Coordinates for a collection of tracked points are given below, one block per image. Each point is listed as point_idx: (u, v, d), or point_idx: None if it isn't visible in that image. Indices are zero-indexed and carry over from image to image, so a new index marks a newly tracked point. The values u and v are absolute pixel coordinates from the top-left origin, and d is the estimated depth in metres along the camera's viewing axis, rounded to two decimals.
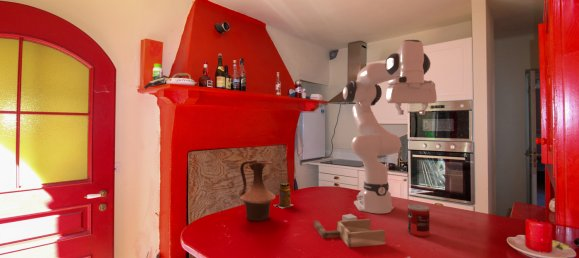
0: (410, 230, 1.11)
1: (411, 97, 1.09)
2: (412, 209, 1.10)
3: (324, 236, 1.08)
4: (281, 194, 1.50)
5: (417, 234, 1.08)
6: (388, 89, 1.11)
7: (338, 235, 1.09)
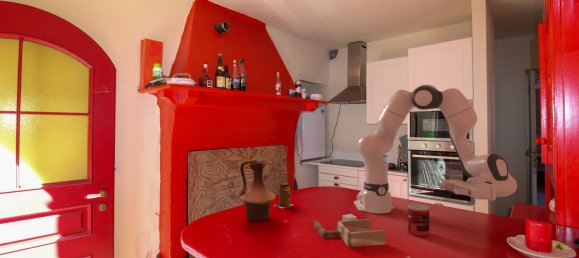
0: (410, 230, 1.11)
1: None
2: (412, 209, 1.10)
3: (324, 236, 1.09)
4: (281, 194, 1.50)
5: (417, 234, 1.08)
6: (489, 191, 1.05)
7: (338, 235, 1.10)
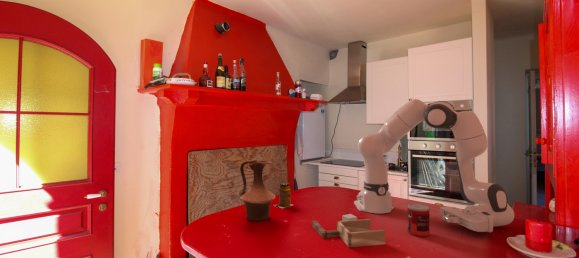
0: (410, 230, 1.11)
1: None
2: (412, 209, 1.10)
3: (324, 236, 1.09)
4: (281, 194, 1.50)
5: (417, 234, 1.08)
6: (486, 223, 1.06)
7: (338, 234, 1.10)
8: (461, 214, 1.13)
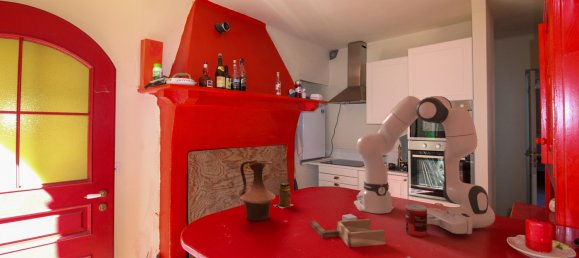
0: (408, 230, 1.11)
1: None
2: (410, 209, 1.09)
3: (324, 236, 1.09)
4: (281, 194, 1.50)
5: (414, 234, 1.08)
6: (465, 225, 1.04)
7: (337, 234, 1.10)
8: (441, 216, 1.12)
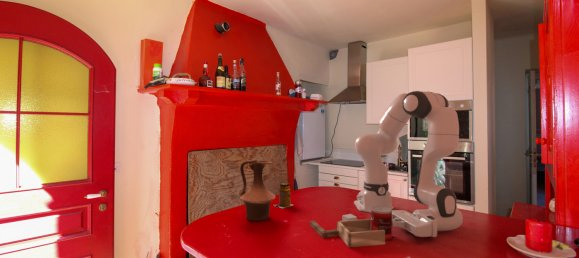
0: None
1: None
2: (374, 211, 1.07)
3: (324, 236, 1.09)
4: (281, 194, 1.50)
5: None
6: (429, 228, 1.02)
7: (337, 234, 1.10)
8: (407, 218, 1.10)
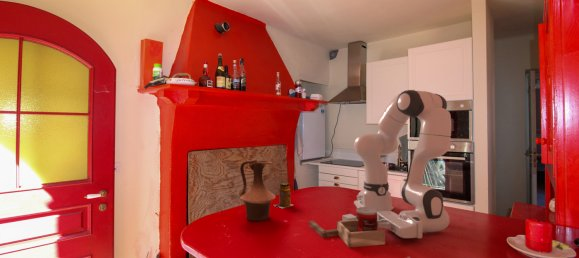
0: None
1: None
2: (359, 212, 1.06)
3: (324, 235, 1.09)
4: (281, 194, 1.50)
5: None
6: (414, 229, 1.01)
7: (337, 234, 1.11)
8: (393, 219, 1.09)
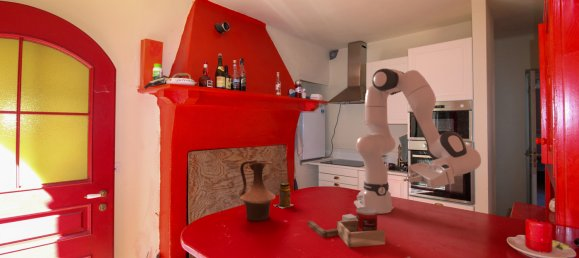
0: None
1: None
2: (359, 212, 1.06)
3: (324, 235, 1.09)
4: (281, 194, 1.50)
5: None
6: (444, 177, 1.04)
7: (336, 233, 1.11)
8: (423, 171, 1.13)
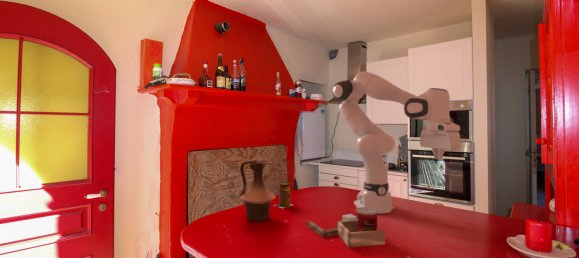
0: None
1: None
2: (359, 212, 1.06)
3: (324, 235, 1.09)
4: (281, 194, 1.50)
5: None
6: (453, 136, 1.07)
7: (336, 233, 1.12)
8: (436, 143, 1.15)
